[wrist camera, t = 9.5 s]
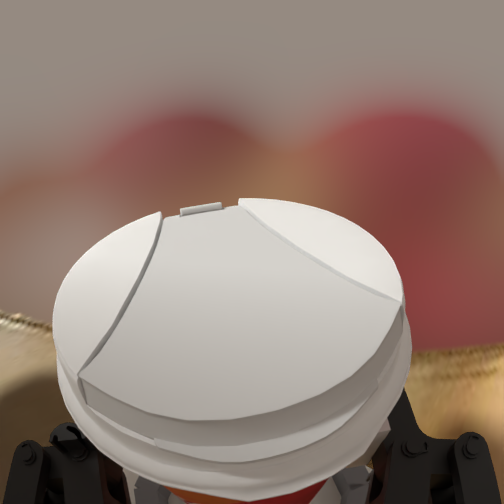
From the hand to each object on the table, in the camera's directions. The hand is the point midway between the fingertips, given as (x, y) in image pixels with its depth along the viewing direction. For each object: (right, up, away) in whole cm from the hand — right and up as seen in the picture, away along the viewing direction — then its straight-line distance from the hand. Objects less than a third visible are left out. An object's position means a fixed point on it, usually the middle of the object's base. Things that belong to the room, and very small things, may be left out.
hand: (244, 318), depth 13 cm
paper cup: (0, -10, 0) cm, 10 cm away
